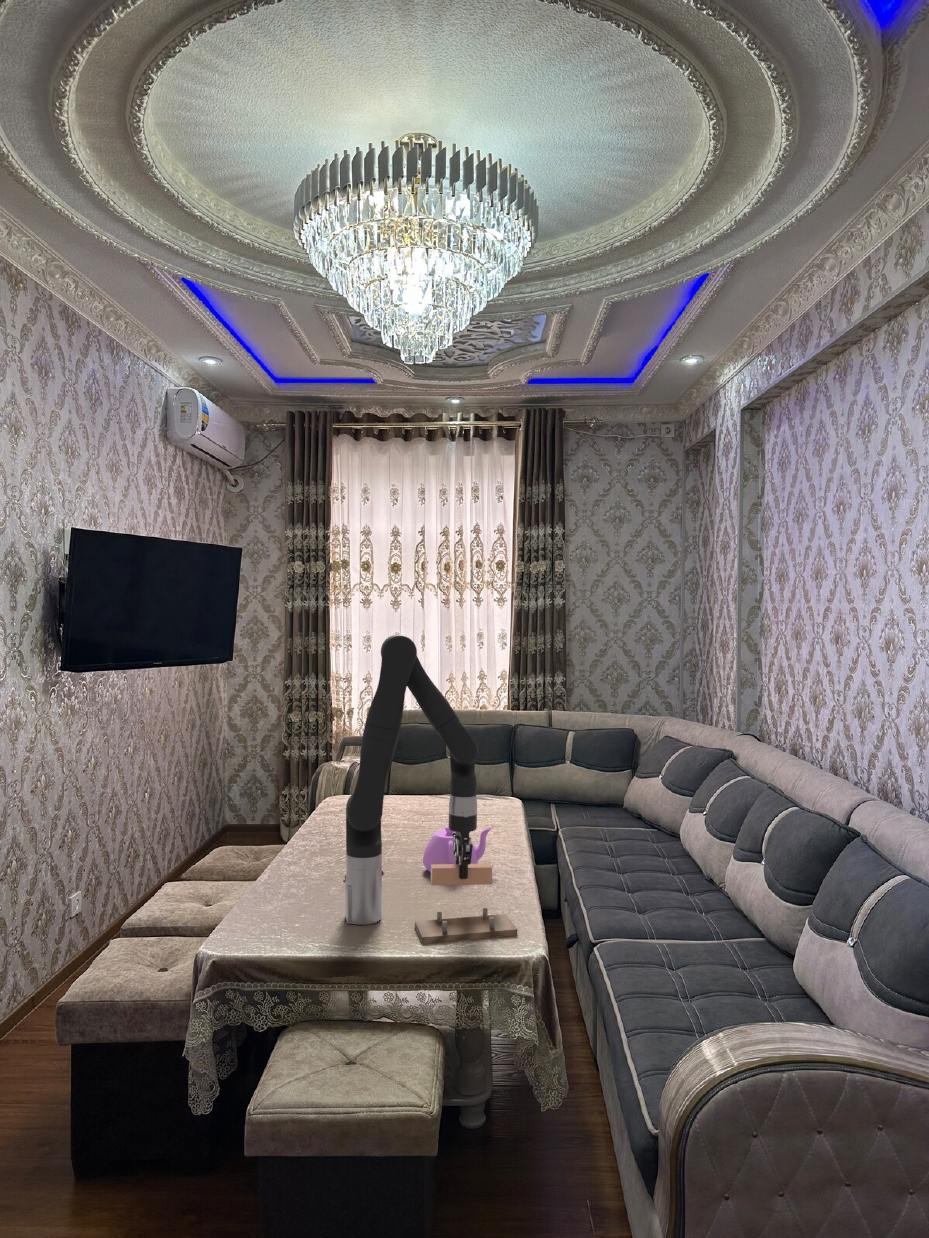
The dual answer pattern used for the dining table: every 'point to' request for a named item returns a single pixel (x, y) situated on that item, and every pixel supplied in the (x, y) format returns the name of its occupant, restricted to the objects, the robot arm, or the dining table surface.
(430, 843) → the teapot
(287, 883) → the dining table surface
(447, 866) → the clay strip
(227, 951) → the dining table surface
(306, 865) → the dining table surface
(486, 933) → the rack
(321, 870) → the dining table surface
